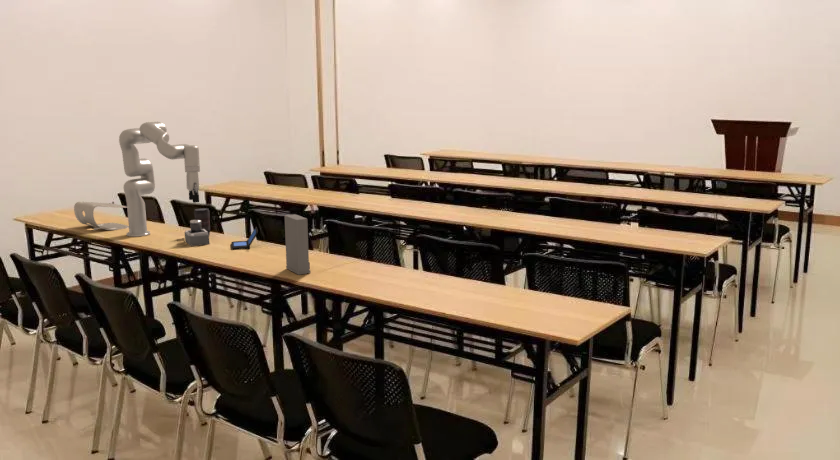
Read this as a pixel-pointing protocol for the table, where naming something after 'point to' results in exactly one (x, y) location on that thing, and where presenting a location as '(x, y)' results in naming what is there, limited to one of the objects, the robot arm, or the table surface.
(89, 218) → the portable electronic device stand
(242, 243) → the game console
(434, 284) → the table surface
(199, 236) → the camera body block
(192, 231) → the ringed metal cylinder
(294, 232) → the tall grey upright pillar
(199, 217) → the camera lens
